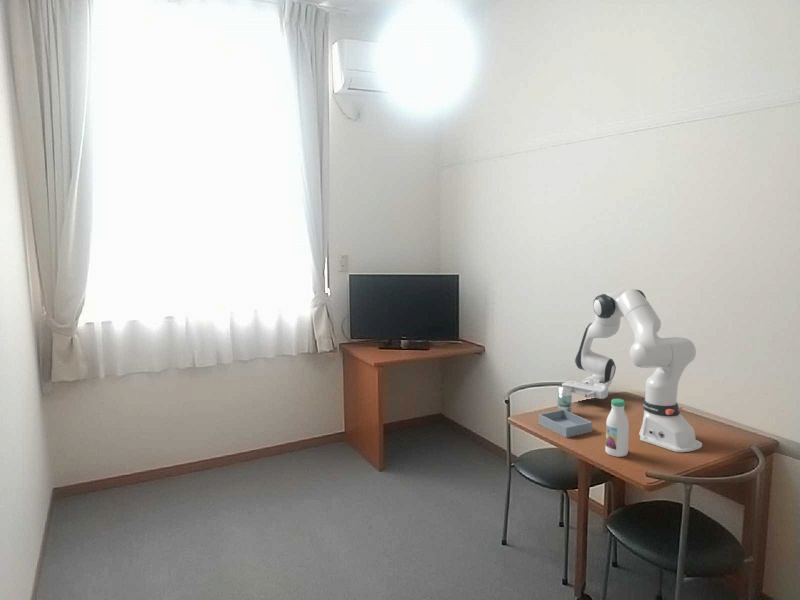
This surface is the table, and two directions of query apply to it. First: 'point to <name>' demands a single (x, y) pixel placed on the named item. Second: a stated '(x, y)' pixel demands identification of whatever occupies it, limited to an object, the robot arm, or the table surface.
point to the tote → (565, 423)
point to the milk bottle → (617, 430)
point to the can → (564, 398)
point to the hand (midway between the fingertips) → (576, 393)
